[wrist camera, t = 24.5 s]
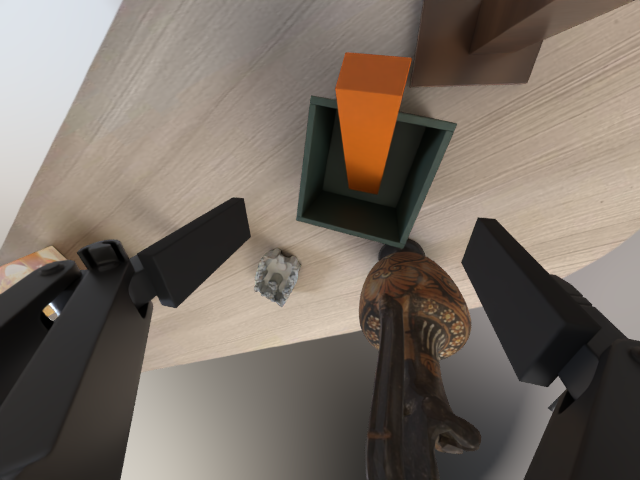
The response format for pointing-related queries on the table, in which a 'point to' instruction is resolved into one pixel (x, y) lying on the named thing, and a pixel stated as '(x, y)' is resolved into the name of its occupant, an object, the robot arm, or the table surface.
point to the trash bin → (396, 185)
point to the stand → (491, 38)
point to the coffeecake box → (28, 269)
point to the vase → (412, 364)
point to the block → (369, 114)
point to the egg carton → (276, 276)
